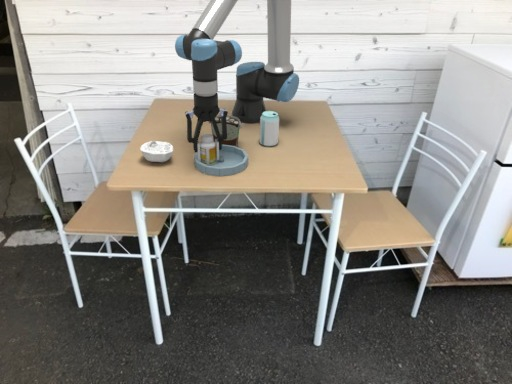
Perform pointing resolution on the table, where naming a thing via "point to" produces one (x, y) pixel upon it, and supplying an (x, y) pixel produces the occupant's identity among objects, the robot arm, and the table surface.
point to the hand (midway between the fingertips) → (208, 159)
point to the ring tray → (225, 162)
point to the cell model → (157, 151)
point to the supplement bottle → (207, 150)
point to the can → (269, 128)
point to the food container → (228, 130)
